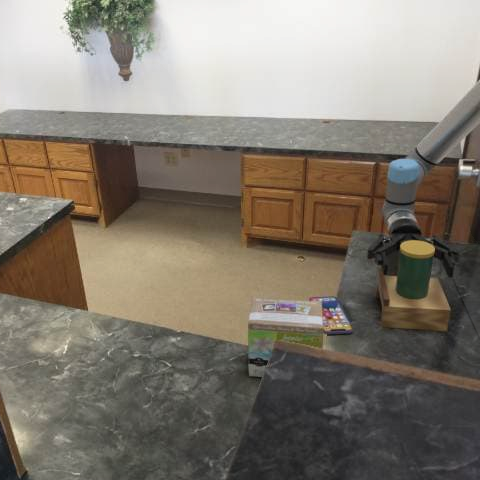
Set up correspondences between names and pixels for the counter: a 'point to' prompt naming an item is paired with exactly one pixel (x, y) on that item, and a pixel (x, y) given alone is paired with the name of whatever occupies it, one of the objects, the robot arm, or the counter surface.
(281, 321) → the tea box
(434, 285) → the wooden block
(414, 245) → the tea tin
